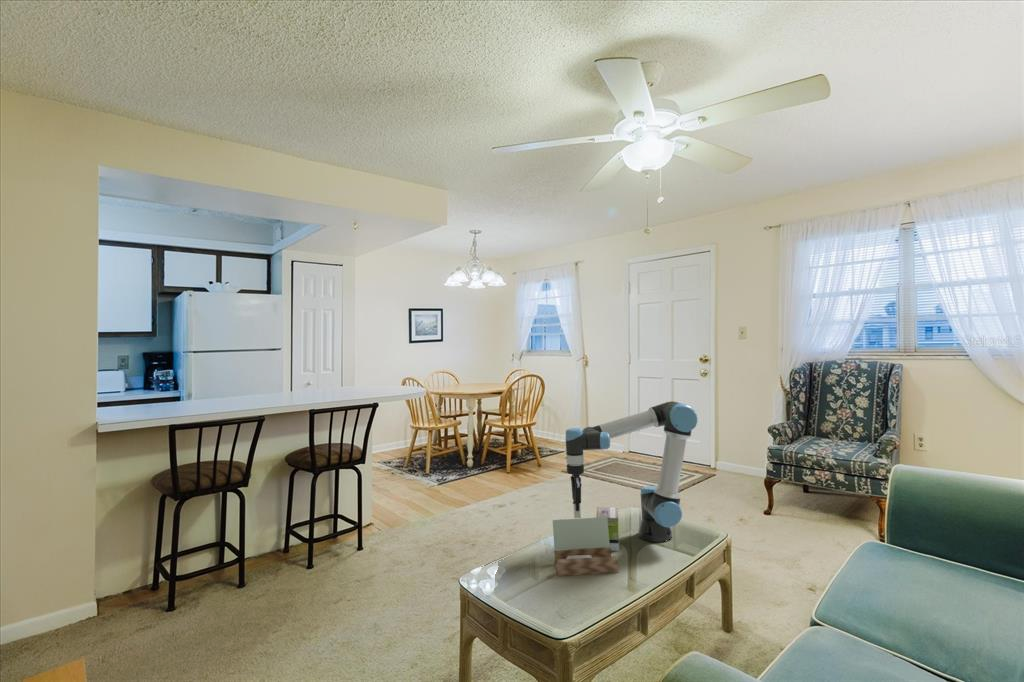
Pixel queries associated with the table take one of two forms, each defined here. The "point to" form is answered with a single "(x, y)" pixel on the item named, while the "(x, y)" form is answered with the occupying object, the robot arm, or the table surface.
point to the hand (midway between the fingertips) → (577, 517)
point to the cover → (581, 533)
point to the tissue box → (585, 561)
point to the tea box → (611, 525)
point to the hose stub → (579, 556)
